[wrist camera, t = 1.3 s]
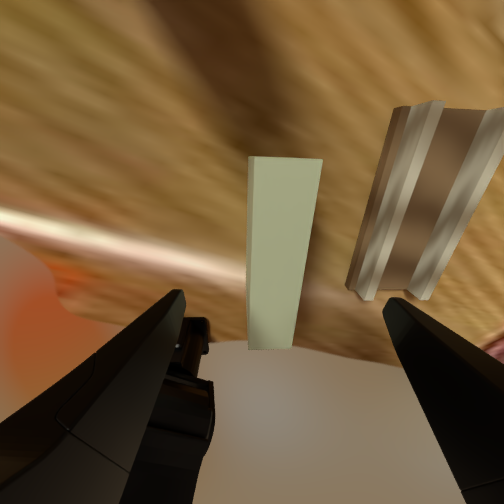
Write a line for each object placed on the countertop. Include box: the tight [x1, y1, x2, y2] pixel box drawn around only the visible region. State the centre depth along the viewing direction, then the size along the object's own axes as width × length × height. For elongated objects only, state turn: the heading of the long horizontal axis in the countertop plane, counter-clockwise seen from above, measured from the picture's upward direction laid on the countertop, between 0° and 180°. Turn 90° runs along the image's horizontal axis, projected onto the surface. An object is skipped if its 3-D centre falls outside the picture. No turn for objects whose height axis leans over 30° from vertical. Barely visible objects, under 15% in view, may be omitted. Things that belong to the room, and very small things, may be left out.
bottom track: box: [345, 100, 504, 301], centre depth 20 cm, size 18×9×3 cm, turn 178°
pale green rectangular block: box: [246, 156, 323, 350], centre depth 17 cm, size 14×4×9 cm, turn 178°
